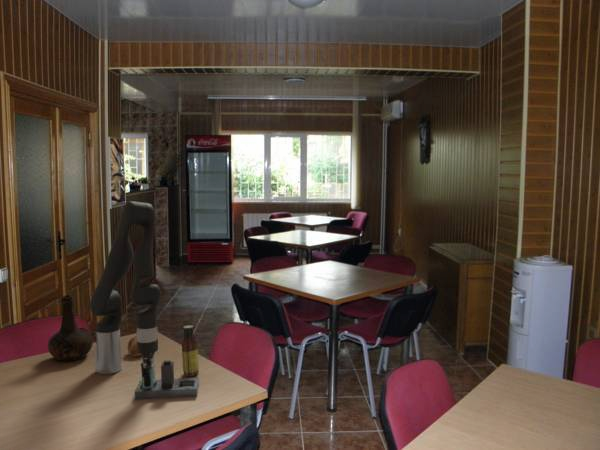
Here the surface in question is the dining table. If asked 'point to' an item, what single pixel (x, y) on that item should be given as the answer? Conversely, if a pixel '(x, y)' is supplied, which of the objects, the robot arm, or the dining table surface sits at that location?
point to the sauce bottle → (189, 352)
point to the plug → (151, 378)
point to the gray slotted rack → (168, 385)
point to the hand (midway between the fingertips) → (148, 383)
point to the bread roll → (133, 347)
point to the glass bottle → (69, 335)
